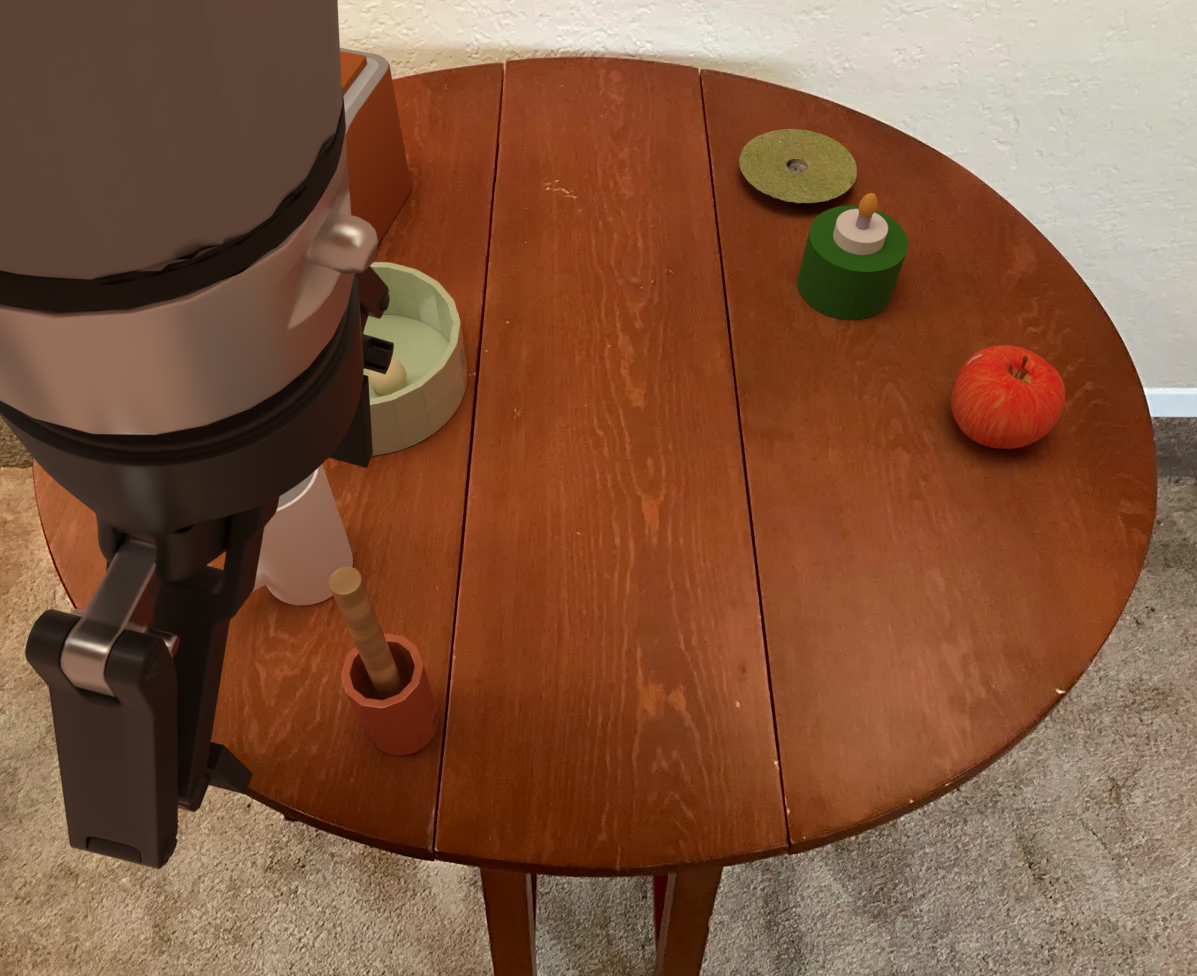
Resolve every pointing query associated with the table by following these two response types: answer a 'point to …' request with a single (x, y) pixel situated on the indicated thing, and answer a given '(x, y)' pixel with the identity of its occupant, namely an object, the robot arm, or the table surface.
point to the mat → (798, 166)
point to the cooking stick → (366, 631)
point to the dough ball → (388, 378)
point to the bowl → (417, 359)
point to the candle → (852, 260)
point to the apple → (1007, 397)
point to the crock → (394, 700)
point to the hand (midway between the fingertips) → (280, 600)
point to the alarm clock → (373, 140)
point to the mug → (303, 544)
